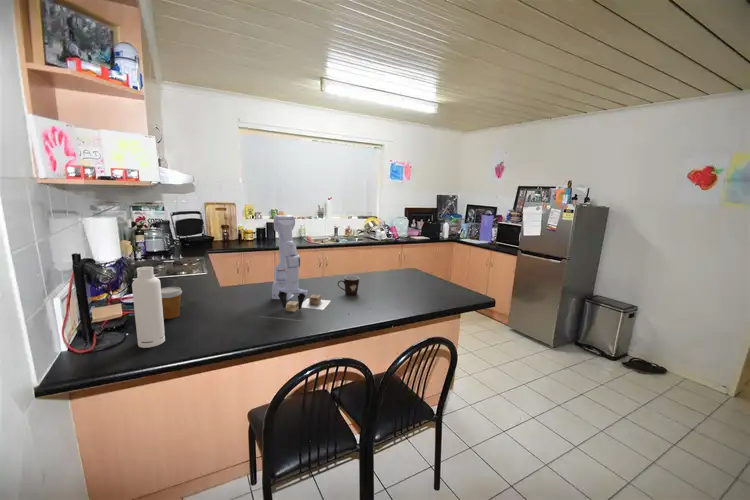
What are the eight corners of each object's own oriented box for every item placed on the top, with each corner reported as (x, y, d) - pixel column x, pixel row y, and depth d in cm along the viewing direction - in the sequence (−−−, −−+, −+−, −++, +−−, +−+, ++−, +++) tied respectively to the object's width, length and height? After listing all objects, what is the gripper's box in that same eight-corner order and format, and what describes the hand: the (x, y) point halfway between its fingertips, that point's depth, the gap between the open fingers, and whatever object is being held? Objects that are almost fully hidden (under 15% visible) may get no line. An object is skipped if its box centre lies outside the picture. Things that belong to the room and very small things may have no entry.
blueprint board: (298, 308, 152) (298, 306, 152) (307, 299, 165) (307, 298, 165) (323, 310, 151) (323, 309, 150) (330, 301, 163) (331, 300, 163)
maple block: (285, 312, 147) (285, 304, 146) (289, 308, 151) (289, 301, 151) (295, 313, 147) (295, 305, 146) (298, 309, 151) (298, 301, 150)
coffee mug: (359, 293, 179) (360, 276, 177) (357, 298, 171) (358, 280, 169) (340, 291, 180) (340, 274, 178) (336, 296, 172) (337, 279, 170)
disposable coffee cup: (188, 314, 139) (187, 288, 137) (168, 322, 130) (166, 294, 128) (173, 310, 142) (171, 285, 140) (152, 318, 133) (150, 291, 131)
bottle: (133, 343, 112) (126, 268, 107) (158, 335, 119) (152, 264, 114) (144, 349, 108) (136, 272, 103) (169, 341, 115) (163, 268, 110)
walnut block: (309, 304, 156) (309, 297, 155) (312, 301, 160) (312, 294, 159) (318, 305, 155) (318, 298, 154) (320, 302, 160) (320, 295, 159)
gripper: (273, 281, 143) (274, 309, 146) (304, 284, 141) (303, 312, 144) (280, 277, 150) (280, 304, 153) (309, 280, 148) (309, 307, 151)
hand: (292, 307), depth 149 cm, fingers open, 7 cm apart
